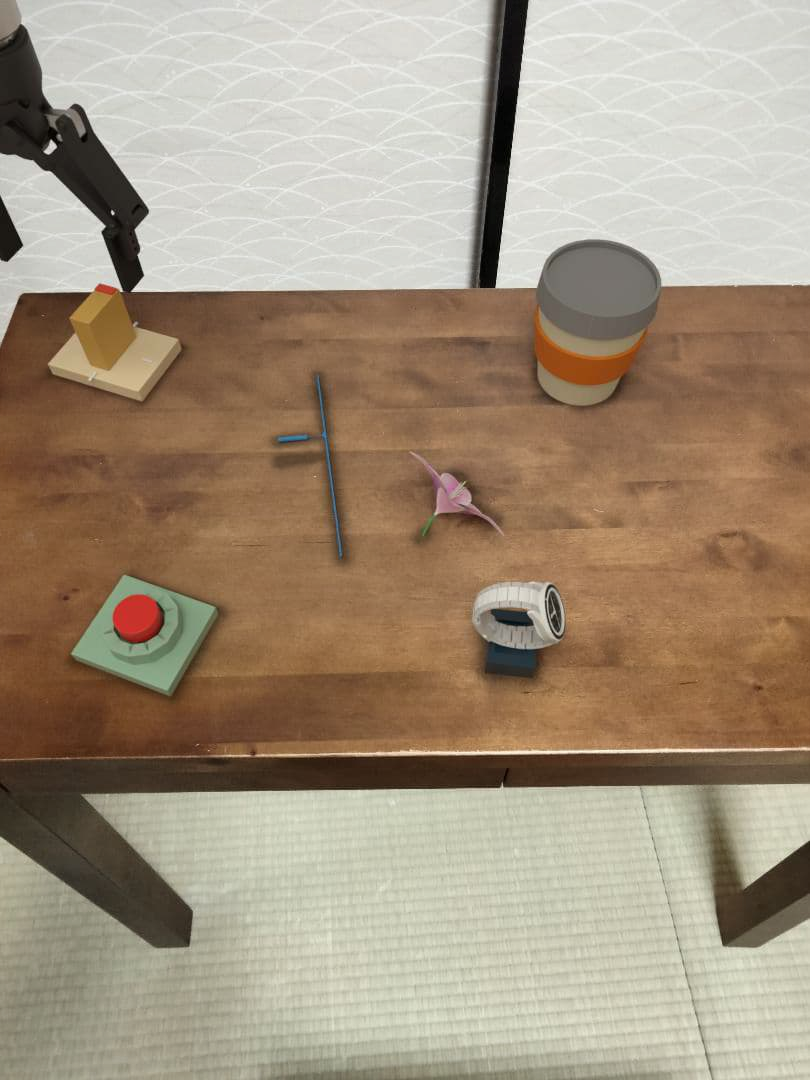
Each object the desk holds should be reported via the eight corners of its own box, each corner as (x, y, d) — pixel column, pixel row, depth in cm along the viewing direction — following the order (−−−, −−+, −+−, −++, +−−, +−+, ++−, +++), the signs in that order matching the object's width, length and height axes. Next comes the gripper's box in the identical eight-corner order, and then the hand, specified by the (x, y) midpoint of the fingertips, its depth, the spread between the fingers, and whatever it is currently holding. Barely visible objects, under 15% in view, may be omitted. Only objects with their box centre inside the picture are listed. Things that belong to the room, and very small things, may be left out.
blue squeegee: (289, 560, 80) (341, 555, 80) (272, 377, 93) (318, 374, 94) (290, 568, 81) (342, 563, 82) (274, 386, 95) (318, 383, 95)
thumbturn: (108, 371, 93) (88, 322, 87) (90, 365, 93) (68, 316, 87) (136, 336, 96) (118, 287, 90) (118, 331, 96) (99, 281, 90)
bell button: (109, 634, 73) (103, 625, 72) (132, 597, 75) (127, 588, 74) (148, 648, 72) (142, 639, 71) (171, 611, 74) (166, 602, 73)
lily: (499, 586, 81) (539, 508, 76) (390, 571, 77) (425, 488, 72) (465, 516, 90) (499, 442, 85) (366, 499, 86) (395, 421, 81)
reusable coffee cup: (600, 334, 100) (629, 227, 87) (649, 407, 93) (687, 303, 80) (505, 357, 97) (520, 251, 85) (548, 433, 91) (571, 330, 78)
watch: (552, 685, 74) (573, 630, 65) (464, 674, 75) (473, 618, 66) (554, 630, 77) (574, 570, 68) (469, 620, 78) (478, 560, 69)
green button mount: (78, 664, 75) (63, 644, 72) (130, 585, 80) (118, 564, 77) (173, 700, 74) (162, 682, 70) (220, 617, 78) (212, 597, 75)
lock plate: (52, 383, 95) (43, 366, 93) (100, 326, 100) (93, 309, 98) (141, 410, 93) (135, 394, 91) (186, 351, 98) (181, 334, 96)
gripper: (145, 36, 61) (205, 272, 78) (-128, -14, 65) (-14, 218, 83) (91, 87, 57) (167, 322, 74) (-196, 29, 61) (-60, 263, 79)
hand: (72, 268), depth 79 cm, fingers open, 13 cm apart
